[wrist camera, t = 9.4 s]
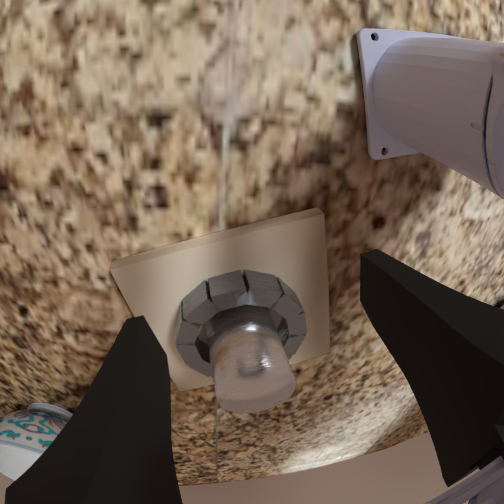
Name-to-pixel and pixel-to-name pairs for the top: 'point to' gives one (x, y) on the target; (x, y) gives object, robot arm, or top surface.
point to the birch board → (224, 261)
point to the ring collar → (229, 296)
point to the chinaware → (28, 436)
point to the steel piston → (248, 360)
